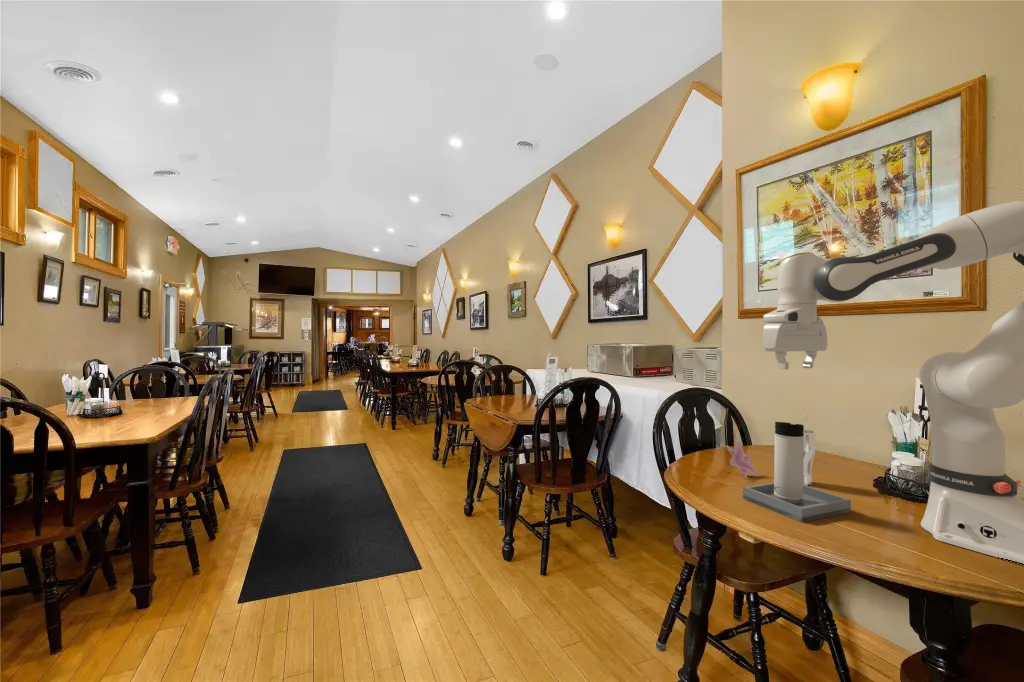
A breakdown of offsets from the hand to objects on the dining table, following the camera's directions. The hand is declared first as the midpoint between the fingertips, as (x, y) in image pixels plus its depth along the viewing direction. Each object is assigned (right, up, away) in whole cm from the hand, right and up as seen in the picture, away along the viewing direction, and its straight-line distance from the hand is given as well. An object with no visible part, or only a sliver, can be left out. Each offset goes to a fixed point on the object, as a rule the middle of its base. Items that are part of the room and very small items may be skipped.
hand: (796, 368), depth 119 cm
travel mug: (-5, -33, -5) cm, 34 cm away
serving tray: (-4, -34, -5) cm, 34 cm away
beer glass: (+9, -34, +13) cm, 37 cm away
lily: (-5, -34, +19) cm, 39 cm away
